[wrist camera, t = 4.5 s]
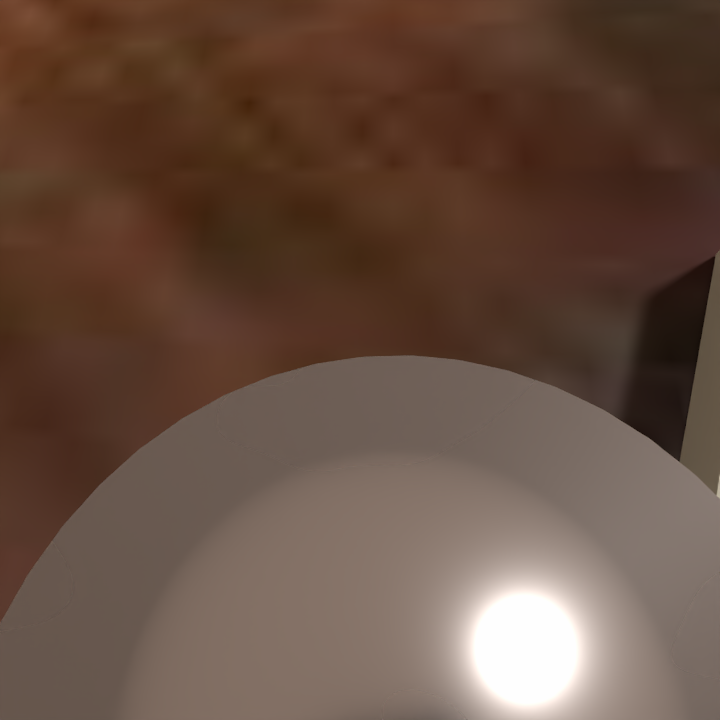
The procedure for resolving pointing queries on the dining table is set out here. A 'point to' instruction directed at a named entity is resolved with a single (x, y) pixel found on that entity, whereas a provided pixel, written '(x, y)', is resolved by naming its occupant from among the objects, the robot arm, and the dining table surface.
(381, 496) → the steel pin
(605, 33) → the dining table surface
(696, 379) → the hole board
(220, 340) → the dining table surface
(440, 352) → the dining table surface
